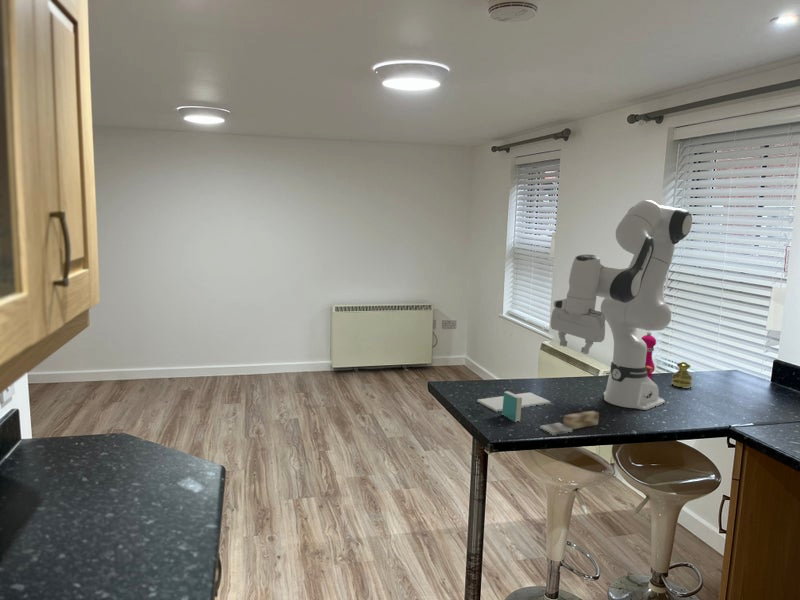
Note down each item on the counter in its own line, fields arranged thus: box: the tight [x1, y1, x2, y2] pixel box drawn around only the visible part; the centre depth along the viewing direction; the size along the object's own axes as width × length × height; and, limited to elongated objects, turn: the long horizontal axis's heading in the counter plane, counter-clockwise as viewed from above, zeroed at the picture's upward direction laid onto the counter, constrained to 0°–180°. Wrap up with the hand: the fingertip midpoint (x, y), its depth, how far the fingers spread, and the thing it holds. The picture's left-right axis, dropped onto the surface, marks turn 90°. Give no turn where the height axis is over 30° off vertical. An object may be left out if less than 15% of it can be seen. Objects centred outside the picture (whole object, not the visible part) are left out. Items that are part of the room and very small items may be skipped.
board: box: [476, 392, 551, 413], centre depth 208 cm, size 24×11×1 cm, turn 118°
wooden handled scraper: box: [539, 410, 600, 436], centre depth 187 cm, size 21×6×4 cm, turn 118°
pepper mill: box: [640, 331, 657, 380], centre depth 248 cm, size 7×7×20 cm
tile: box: [501, 390, 522, 423], centre depth 192 cm, size 2×7×8 cm, turn 28°
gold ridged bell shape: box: [671, 361, 693, 388], centre depth 239 cm, size 7×7×10 cm
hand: (573, 349), depth 185 cm, fingers open, 8 cm apart
